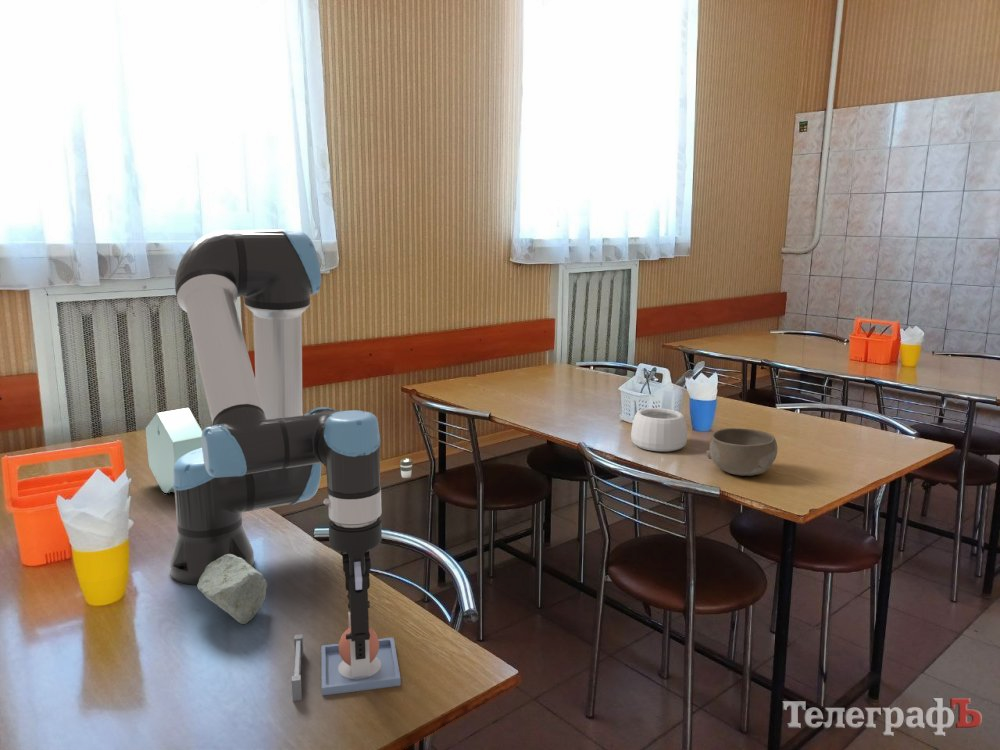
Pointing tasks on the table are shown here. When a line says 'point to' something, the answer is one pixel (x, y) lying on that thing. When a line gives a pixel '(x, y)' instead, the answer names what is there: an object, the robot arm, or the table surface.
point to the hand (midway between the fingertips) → (359, 662)
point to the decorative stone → (234, 587)
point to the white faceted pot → (659, 429)
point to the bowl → (742, 451)
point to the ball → (345, 646)
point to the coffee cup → (406, 467)
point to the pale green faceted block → (171, 443)
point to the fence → (297, 668)
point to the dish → (340, 680)
